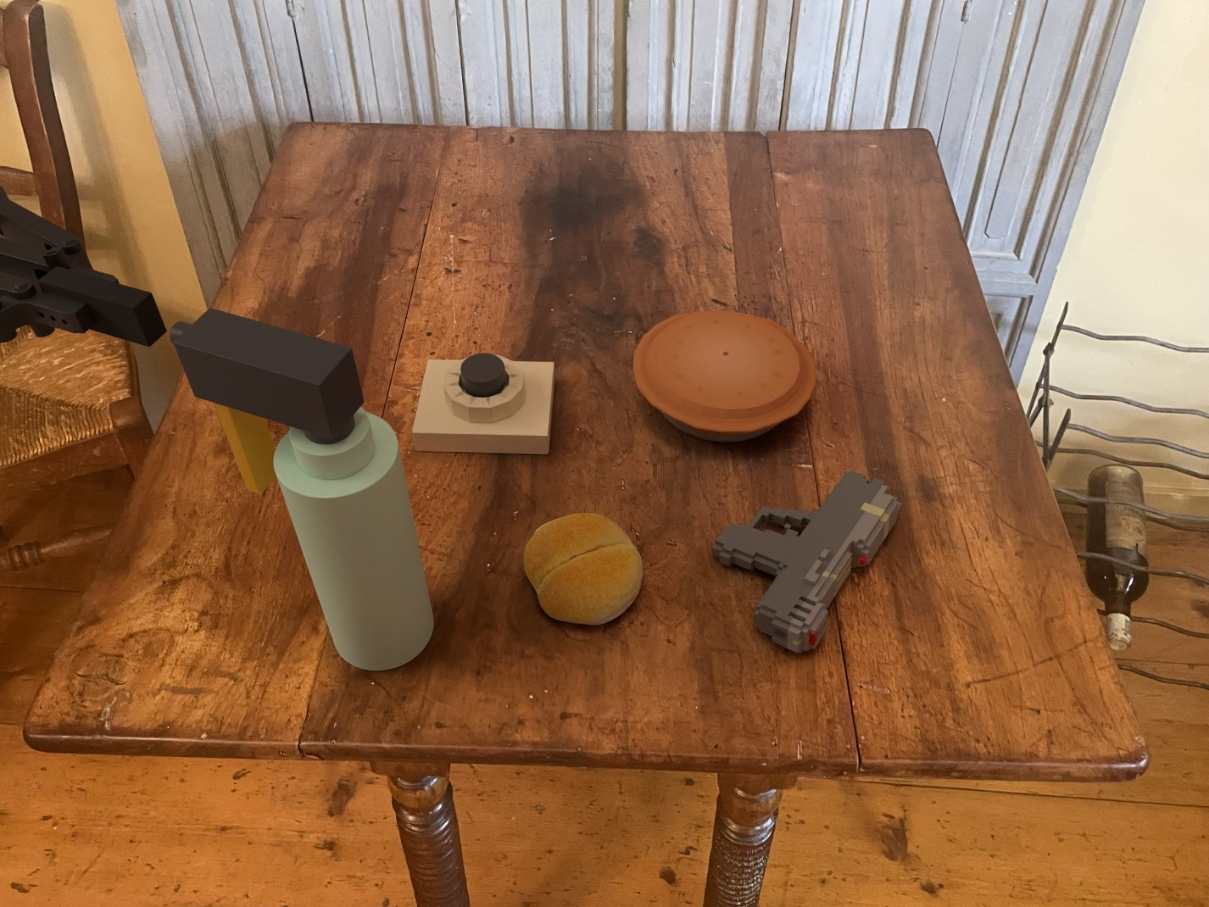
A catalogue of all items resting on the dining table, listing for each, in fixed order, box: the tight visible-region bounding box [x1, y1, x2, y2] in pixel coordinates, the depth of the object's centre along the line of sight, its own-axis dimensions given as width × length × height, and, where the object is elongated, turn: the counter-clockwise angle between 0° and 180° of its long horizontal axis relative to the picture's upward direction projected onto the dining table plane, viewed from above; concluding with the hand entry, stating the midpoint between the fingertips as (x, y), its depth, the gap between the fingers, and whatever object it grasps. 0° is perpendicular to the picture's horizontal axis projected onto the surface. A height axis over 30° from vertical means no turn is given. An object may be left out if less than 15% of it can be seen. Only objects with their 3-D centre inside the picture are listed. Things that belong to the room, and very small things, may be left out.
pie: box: [632, 309, 817, 443], centre depth 84 cm, size 15×16×5 cm
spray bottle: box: [169, 307, 435, 672], centre depth 61 cm, size 12×7×25 cm, turn 69°
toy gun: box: [712, 469, 903, 654], centre depth 73 cm, size 4×16×10 cm
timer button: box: [460, 352, 506, 398], centre depth 81 cm, size 4×4×2 cm
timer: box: [411, 354, 556, 455], centre depth 83 cm, size 11×9×4 cm
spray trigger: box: [213, 403, 277, 496], centre depth 59 cm, size 1×2×8 cm, turn 159°
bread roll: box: [523, 512, 644, 626], centre depth 71 cm, size 8×9×4 cm
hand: (150, 320), depth 54 cm, fingers closed
